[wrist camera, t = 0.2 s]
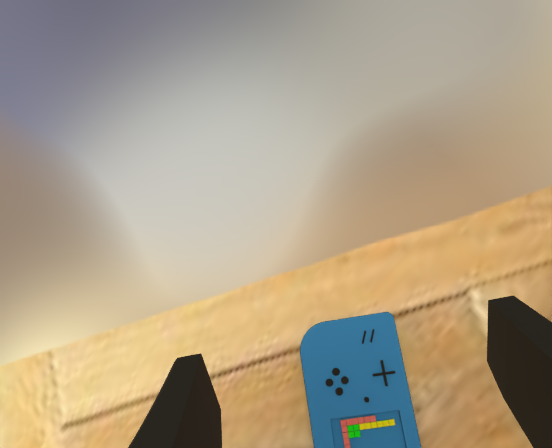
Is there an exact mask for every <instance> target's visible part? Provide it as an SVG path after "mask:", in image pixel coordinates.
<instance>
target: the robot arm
mask: <svg viewBox="0 0 552 448" xmlns="http://www.w3.org/2000/svg"><path fill="white" fill-rule="evenodd" d="M487 362H488V364H489V367H490V369H491V371H492V373H493V376H494V378H495V380H496V382H497V385H498V387H499V389H500V391H501V393H502V395H503V397H504V399H505V401H506V403H507V405H508V406H509V408H510V410H511V411H512V413H513V415H514V416H515V418H516V420H517V421H518V423H519V425H520V426H521V428H522V430H523V431H524V433H525V434H526V436H527V438H528V439H529V441H530V443H531V444H532V446H533V448H552V322H550V321H549V320H548V319H546V318H545V317H543V316H542V315H540V314H539V313H538V312H536V311H535V310H533V309H532V308H530V307H529V306H528V305H526V304H525V303H523V302H522V301H520V300H519V299H518V298H516V297H515V296H509V297H504V298H498V299H493V300H488V341H487ZM128 448H222V429H221V408H220V406H219V403H218V400H217V397H216V394H215V391H214V389H213V386H212V383H211V380H210V377H209V374H208V372H207V369H206V366H205V363H204V360H203V357H202V355H201V354H196V355H190V356H185V357H180V358H177V359H176V361H175V362H174V364H173V366H172V368H171V370H170V372H169V374H168V376H167V378H166V380H165V382H164V384H163V386H162V388H161V390H160V392H159V394H158V396H157V398H156V400H155V402H154V404H153V405H152V407H151V409H150V411H149V413H148V414H147V416H146V418H145V420H144V422H143V423H142V425H141V427H140V429H139V431H138V432H137V434H136V436H135V437H134V439H133V441H132V442H131V444H130V445H129V447H128Z"/></svg>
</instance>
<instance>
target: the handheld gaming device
mask: <svg viewBox="0 0 552 448" xmlns="http://www.w3.org/2000/svg"><path fill="white" fill-rule="evenodd" d="M300 354H301V361H302V368H303V375H304V381H305V388H306V395H307V402H308V408H309V415H310V422H311V428H312V435H313V442H314V448H421V445H420V440H419V435H418V430H417V426H416V421H415V416H414V411H413V406H412V402H411V397H410V392H409V387H408V383H407V378H406V373H405V368H404V364H403V359H402V354H401V349H400V345H399V340H398V335H397V330H396V326H395V321H394V317H393V315H392V314H391V313H389V312H383V313H377V314H371V315H364V316H358V317H351V318H345V319H338V320H332V321H326V322H321V323H318V324H316V325H314V326H313V327H312V328H310V329H309V330H308V331H307V333H306V334H305V336H304V337H303V340H302V343H301V348H300Z"/></svg>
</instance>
